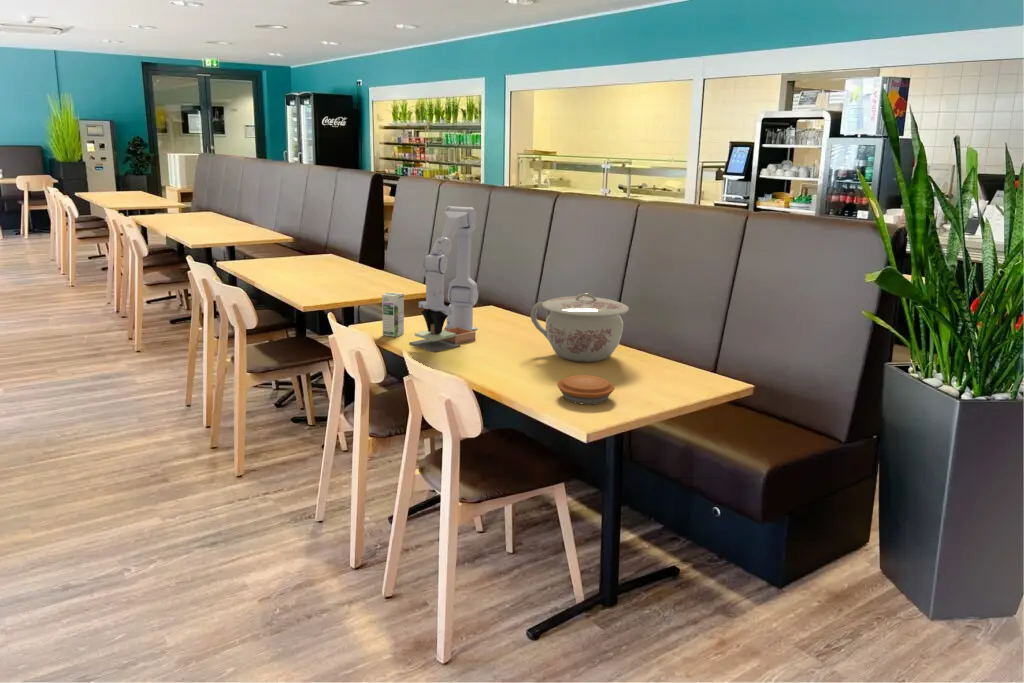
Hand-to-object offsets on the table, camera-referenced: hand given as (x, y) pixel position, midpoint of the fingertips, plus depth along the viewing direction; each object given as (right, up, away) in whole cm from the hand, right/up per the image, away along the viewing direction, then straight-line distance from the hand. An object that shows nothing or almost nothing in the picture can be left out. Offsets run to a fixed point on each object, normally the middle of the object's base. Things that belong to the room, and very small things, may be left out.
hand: (434, 332), depth 255 cm
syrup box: (-16, -1, +13) cm, 21 cm away
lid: (0, -1, 0) cm, 1 cm away
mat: (0, -4, +1) cm, 4 cm away
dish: (+7, -2, +9) cm, 11 cm away
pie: (+45, -18, -46) cm, 67 cm away
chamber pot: (+48, -8, -7) cm, 49 cm away
